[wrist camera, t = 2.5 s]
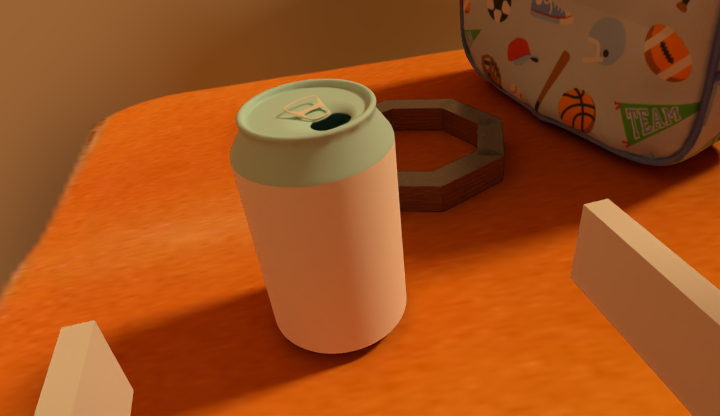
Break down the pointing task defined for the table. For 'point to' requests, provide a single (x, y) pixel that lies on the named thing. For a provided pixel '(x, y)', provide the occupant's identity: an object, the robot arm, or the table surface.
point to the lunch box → (606, 69)
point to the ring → (458, 176)
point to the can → (323, 211)
